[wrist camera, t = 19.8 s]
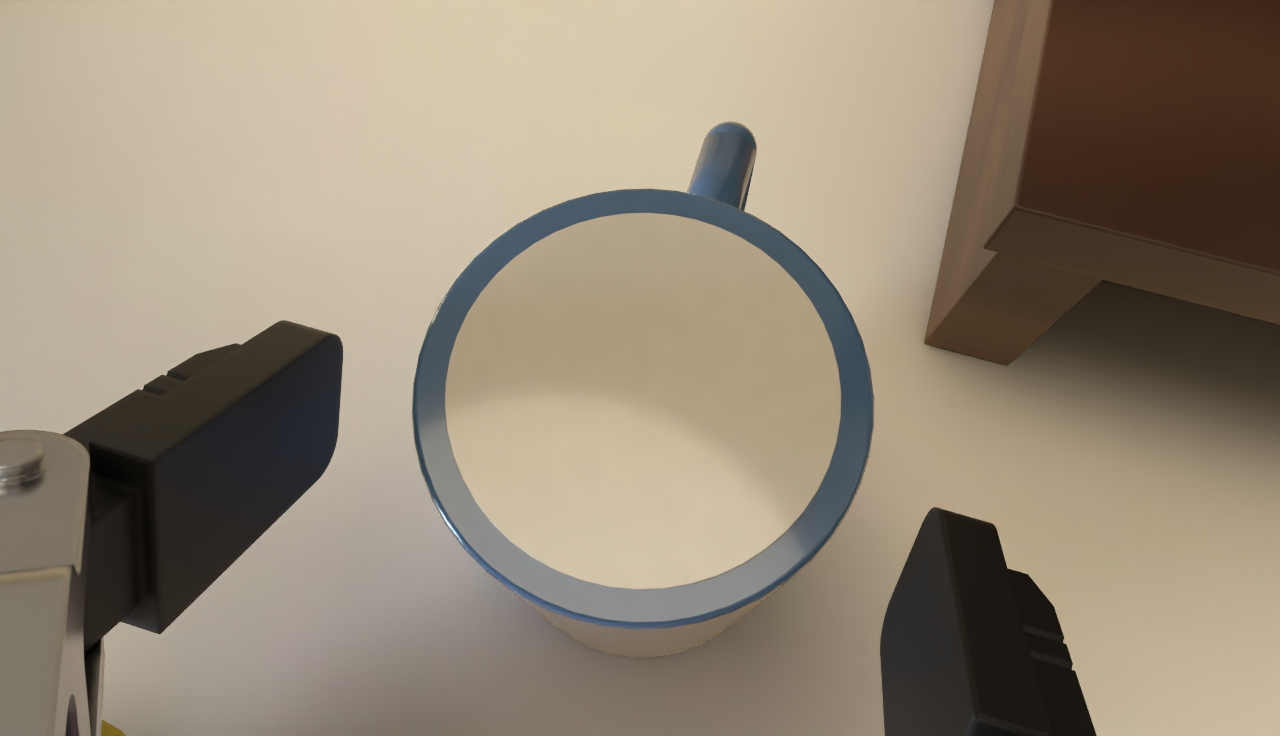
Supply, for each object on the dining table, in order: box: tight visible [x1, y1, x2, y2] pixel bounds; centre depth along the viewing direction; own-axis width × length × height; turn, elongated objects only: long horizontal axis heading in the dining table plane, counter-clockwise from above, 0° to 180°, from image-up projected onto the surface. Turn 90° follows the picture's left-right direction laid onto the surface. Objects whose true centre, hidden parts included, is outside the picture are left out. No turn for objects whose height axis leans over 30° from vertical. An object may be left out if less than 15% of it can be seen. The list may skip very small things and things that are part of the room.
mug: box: [412, 122, 874, 658], centre depth 16 cm, size 8×6×9 cm
